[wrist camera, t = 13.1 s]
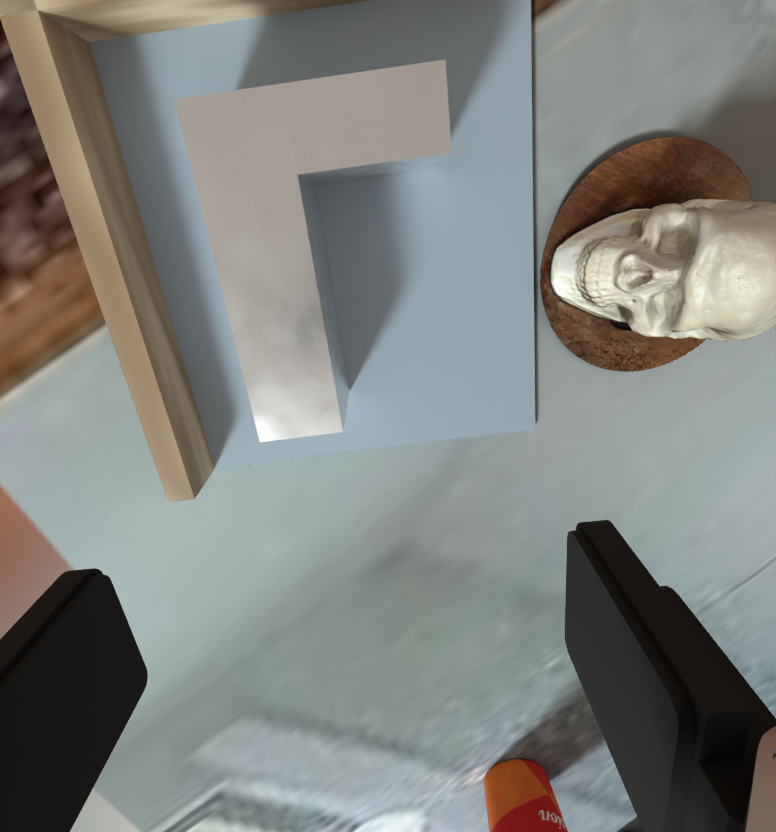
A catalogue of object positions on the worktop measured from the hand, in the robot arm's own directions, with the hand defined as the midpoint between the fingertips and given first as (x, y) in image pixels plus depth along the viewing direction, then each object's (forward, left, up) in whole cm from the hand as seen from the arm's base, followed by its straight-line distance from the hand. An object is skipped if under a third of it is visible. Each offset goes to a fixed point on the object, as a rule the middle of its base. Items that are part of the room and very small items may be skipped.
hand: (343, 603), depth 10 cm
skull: (-16, -3, -20) cm, 26 cm away
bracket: (0, -5, -19) cm, 20 cm away
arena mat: (0, -5, -20) cm, 20 cm away
